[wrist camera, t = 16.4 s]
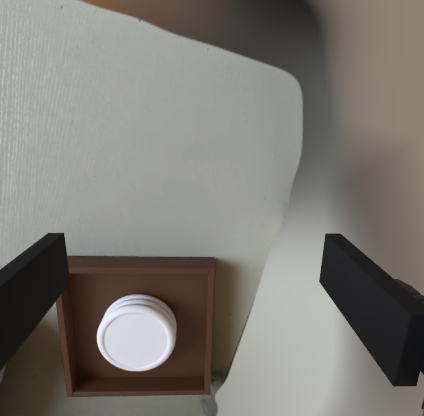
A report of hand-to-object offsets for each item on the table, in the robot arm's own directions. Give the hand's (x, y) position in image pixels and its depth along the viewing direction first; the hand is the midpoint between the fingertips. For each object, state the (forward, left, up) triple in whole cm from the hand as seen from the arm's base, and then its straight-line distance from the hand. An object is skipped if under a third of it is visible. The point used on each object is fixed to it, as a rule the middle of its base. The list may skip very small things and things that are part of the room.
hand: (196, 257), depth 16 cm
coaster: (+7, +21, -23) cm, 31 cm away
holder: (+7, +21, -23) cm, 32 cm away
